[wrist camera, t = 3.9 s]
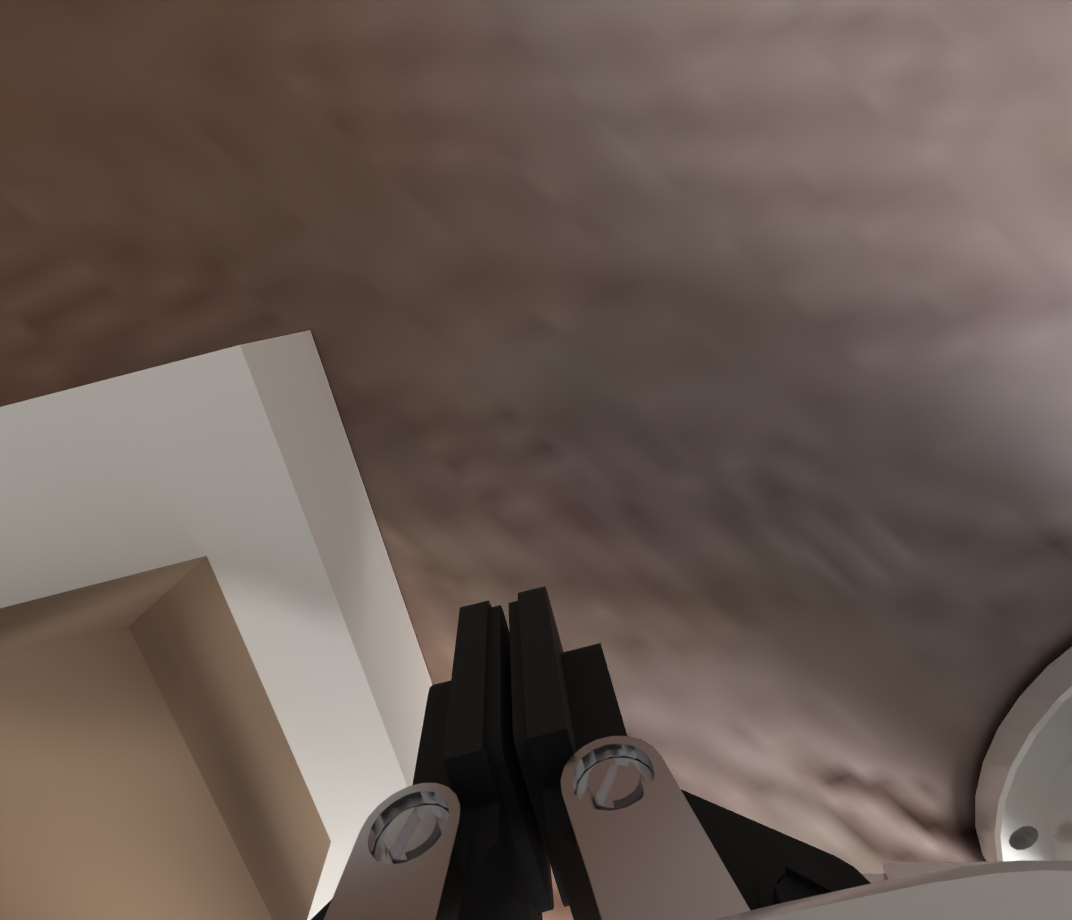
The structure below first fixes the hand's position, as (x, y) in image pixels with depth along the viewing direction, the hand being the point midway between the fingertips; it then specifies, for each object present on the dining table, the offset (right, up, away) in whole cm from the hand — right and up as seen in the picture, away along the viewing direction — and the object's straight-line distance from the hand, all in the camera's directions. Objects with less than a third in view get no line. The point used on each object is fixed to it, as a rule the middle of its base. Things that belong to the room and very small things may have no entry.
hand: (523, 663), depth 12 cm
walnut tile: (-10, -2, +1) cm, 10 cm away
